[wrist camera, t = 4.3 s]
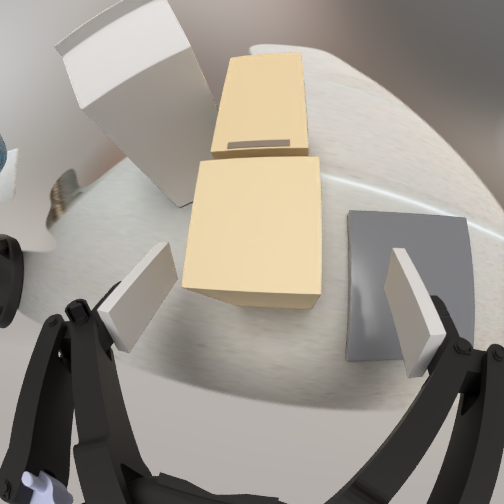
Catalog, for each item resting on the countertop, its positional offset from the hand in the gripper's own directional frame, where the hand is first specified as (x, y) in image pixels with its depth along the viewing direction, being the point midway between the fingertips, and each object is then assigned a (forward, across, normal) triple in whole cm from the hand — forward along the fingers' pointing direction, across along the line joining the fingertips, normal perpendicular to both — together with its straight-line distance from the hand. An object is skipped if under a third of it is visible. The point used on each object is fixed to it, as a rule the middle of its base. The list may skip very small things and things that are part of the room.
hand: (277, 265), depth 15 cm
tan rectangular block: (+6, -1, -4) cm, 7 cm away
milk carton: (+13, -9, +3) cm, 16 cm away
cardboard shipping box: (+12, -1, +2) cm, 12 cm away
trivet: (+5, +11, -5) cm, 13 cm away
